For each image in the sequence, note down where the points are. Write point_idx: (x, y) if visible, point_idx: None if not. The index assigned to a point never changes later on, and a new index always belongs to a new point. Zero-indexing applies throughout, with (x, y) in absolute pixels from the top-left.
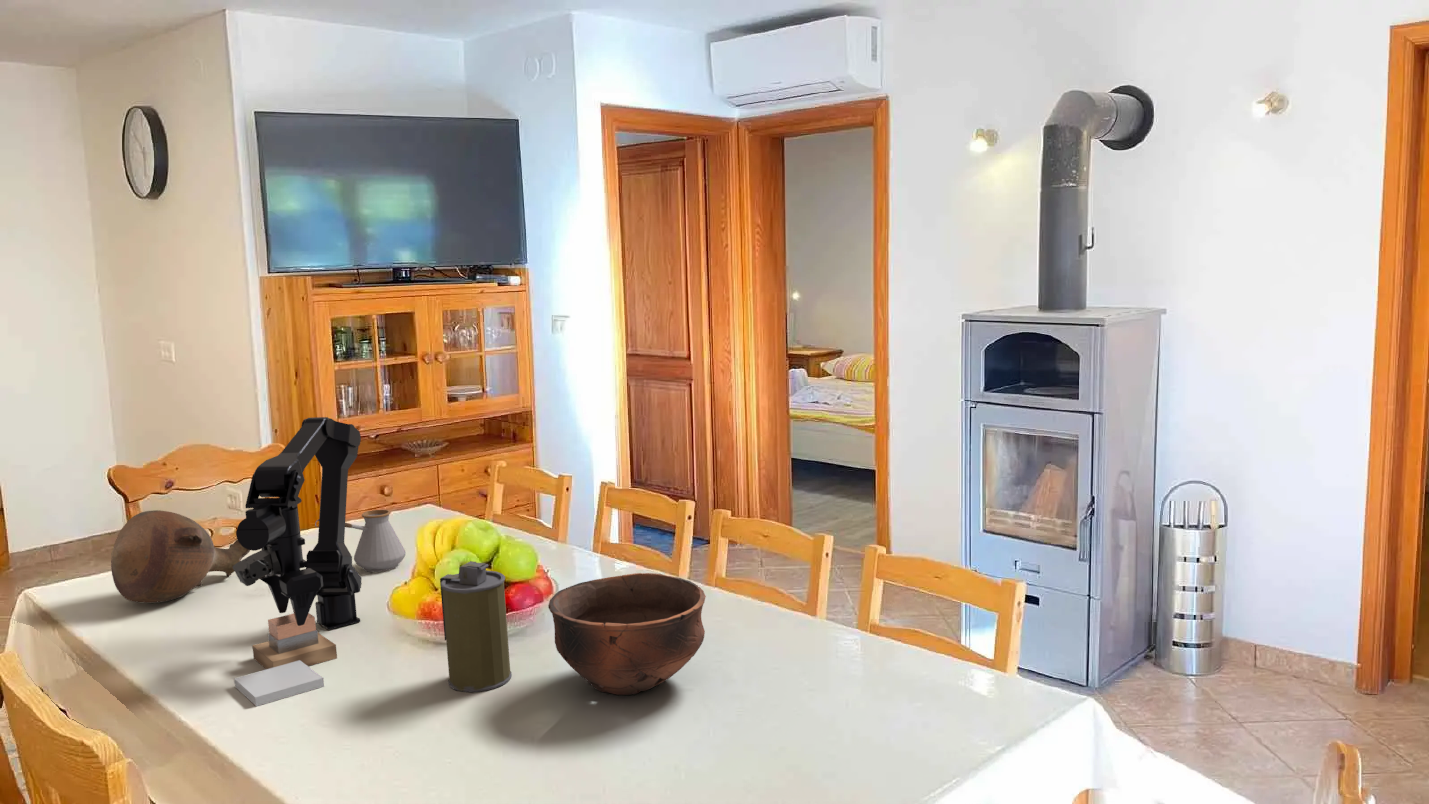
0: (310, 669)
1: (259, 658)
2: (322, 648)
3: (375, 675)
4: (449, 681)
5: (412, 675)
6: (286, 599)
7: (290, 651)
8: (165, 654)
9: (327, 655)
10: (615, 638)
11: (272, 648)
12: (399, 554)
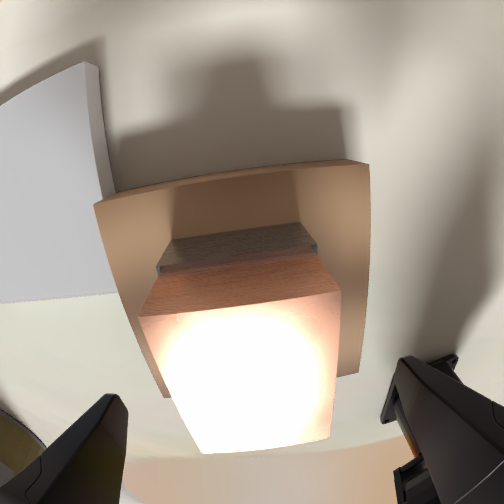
0: (42, 296)
1: (277, 167)
2: (150, 368)
3: (40, 379)
4: (1, 414)
5: (33, 407)
6: (421, 434)
7: None
8: (496, 20)
9: None
10: None
11: (256, 228)
12: None
